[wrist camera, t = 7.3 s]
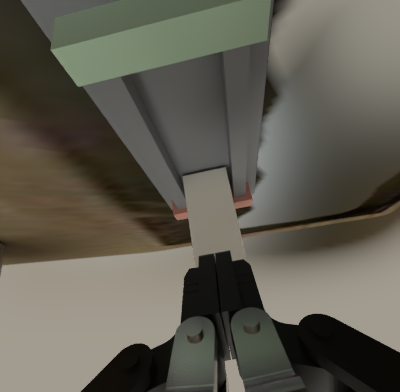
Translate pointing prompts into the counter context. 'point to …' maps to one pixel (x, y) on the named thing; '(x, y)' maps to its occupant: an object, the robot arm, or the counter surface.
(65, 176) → the counter surface
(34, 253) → the counter surface
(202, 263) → the robot arm
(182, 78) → the grey rail base
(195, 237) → the orange-capped white pillar
